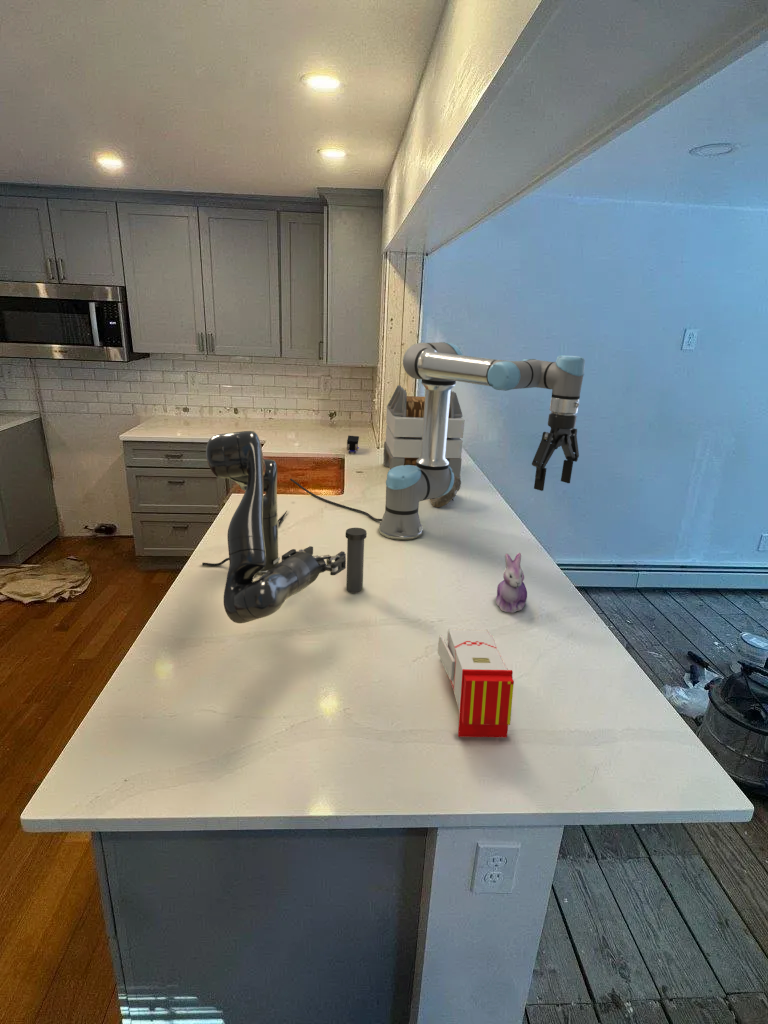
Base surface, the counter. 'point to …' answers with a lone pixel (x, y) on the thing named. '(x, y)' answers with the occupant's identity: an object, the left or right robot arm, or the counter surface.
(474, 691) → the toy
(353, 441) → the figurine character
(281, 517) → the feather
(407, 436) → the white wooden crate
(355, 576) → the dark grey cylinder
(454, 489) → the fossil
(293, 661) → the counter surface
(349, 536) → the lid
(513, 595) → the figurine
